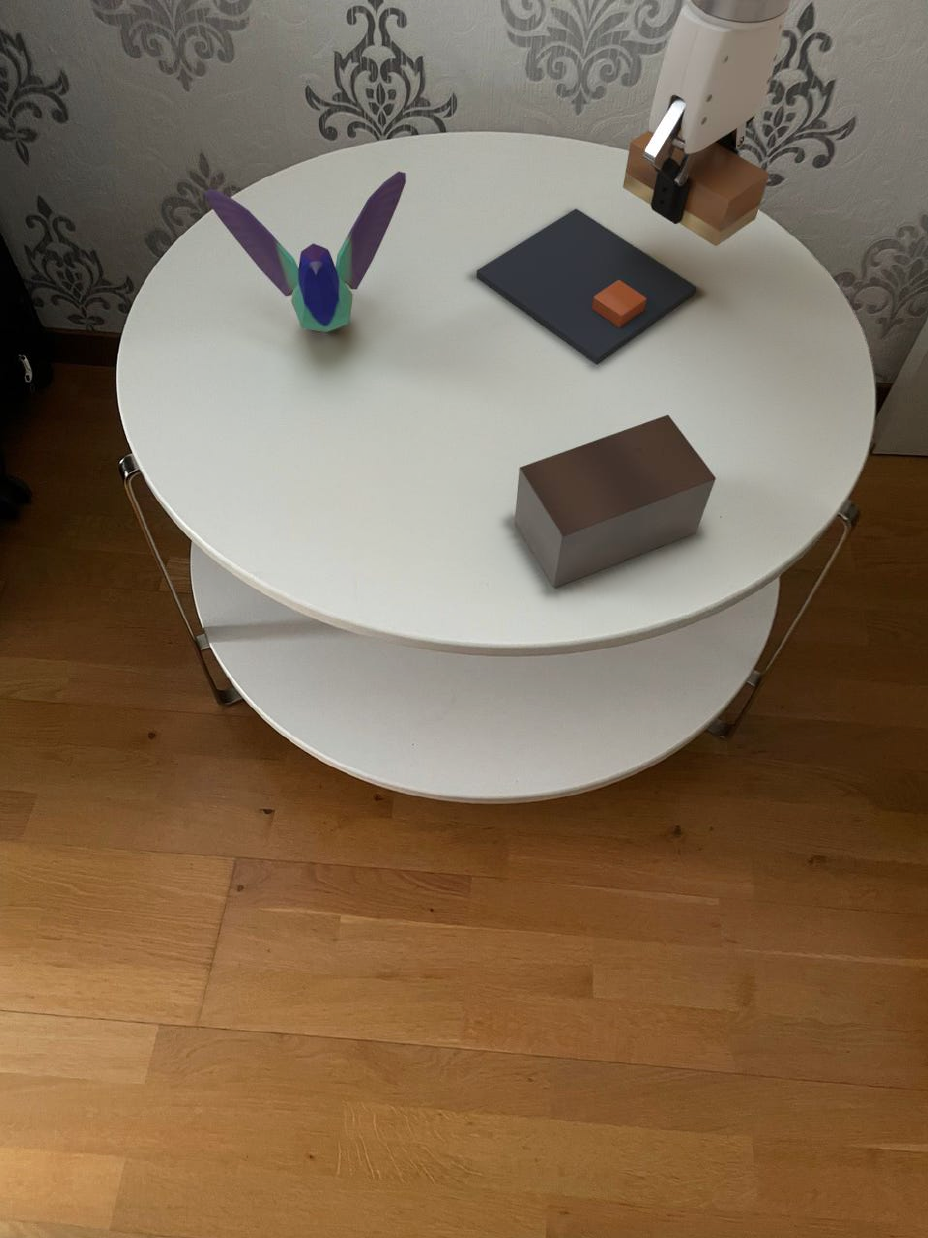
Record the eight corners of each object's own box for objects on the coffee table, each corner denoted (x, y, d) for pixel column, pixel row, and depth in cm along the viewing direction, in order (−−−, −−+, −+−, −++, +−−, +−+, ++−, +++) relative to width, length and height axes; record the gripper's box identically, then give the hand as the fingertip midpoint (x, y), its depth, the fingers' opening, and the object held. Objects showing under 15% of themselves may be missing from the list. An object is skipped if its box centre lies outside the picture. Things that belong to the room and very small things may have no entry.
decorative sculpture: (239, 425, 82) (199, 285, 69) (231, 282, 92) (195, 134, 79) (434, 403, 84) (430, 261, 71) (407, 264, 93) (399, 117, 80)
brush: (622, 187, 87) (630, 141, 83) (661, 162, 88) (671, 115, 85) (716, 246, 83) (729, 201, 79) (755, 219, 84) (770, 173, 81)
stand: (652, 471, 80) (668, 413, 74) (696, 533, 77) (716, 477, 71) (514, 522, 77) (519, 467, 71) (553, 588, 74) (562, 536, 68)
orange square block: (644, 310, 89) (646, 297, 88) (619, 328, 88) (621, 315, 86) (616, 291, 90) (618, 278, 89) (591, 309, 89) (593, 296, 88)
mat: (695, 293, 91) (697, 286, 91) (596, 364, 86) (597, 357, 86) (575, 214, 97) (576, 207, 97) (476, 277, 92) (476, 270, 92)
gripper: (773, -76, 74) (717, 142, 90) (625, 3, 68) (593, 221, 84) (853, -39, 71) (780, 179, 87) (707, 46, 65) (657, 264, 81)
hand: (689, 198), depth 85 cm, fingers closed on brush, 5 cm apart
